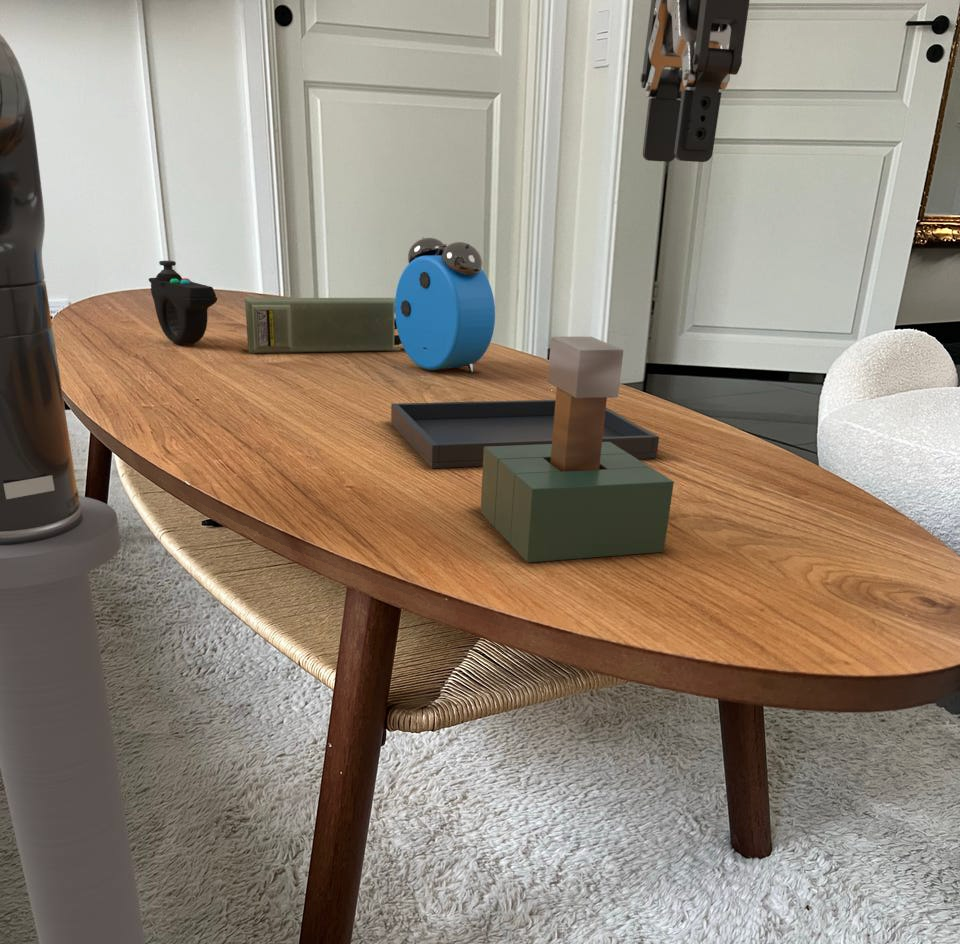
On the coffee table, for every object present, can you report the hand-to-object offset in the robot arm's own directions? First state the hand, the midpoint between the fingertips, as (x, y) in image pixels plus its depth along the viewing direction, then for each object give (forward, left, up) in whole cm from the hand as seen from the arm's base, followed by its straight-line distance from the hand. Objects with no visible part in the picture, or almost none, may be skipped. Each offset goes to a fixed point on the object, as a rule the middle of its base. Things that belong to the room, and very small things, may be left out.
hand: (674, 161), depth 61 cm
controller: (-30, +72, -24) cm, 82 cm away
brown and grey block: (-7, -4, -24) cm, 25 cm away
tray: (-2, +20, -24) cm, 31 cm away
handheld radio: (-10, +67, -24) cm, 72 cm away
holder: (-7, -4, -24) cm, 25 cm away
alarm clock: (0, +54, -24) cm, 59 cm away
